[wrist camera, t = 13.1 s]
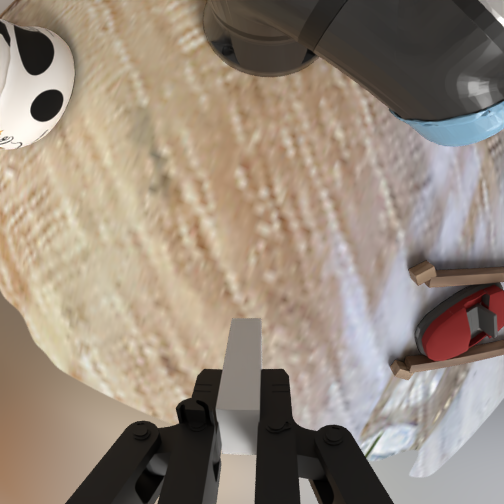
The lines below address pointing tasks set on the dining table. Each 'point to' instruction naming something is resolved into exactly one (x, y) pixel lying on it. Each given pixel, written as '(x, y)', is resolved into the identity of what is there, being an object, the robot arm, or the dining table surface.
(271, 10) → the robot arm
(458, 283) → the cradle
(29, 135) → the milk container
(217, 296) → the dining table surface
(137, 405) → the dining table surface
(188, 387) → the dining table surface
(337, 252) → the dining table surface
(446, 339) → the bumper car
